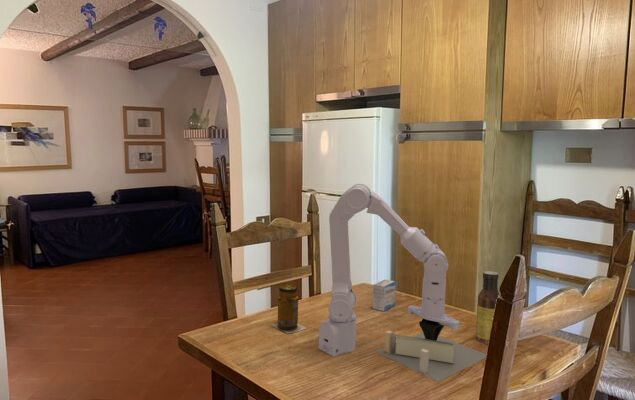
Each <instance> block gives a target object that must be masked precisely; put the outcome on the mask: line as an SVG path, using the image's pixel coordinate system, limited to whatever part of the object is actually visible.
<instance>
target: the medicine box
mask: <svg viewBox="0 0 635 400" xmlns="http://www.w3.org/2000/svg"><path fill="white" fill-rule="evenodd" d="M396 285H397V283H396V281H394V280H391V279H384V280H381V281H378V282H377V283H374V284H373V287H372V309H373V310H376V311H380V312H386V311H388V310H390V309H391V308H393V307H395V305H396V289H397V288H396V287H397V286H396Z"/></svg>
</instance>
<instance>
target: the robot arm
mask: <svg viewBox="0 0 635 400" xmlns="http://www.w3.org/2000/svg"><path fill="white" fill-rule="evenodd" d="M365 209H367V210H366V211H365V213H367V214H372V215H376V216H379V218H380V219H382V221H384V222H385V223H386V224H387V225H388V226H389V227H390V228H391V229H393V230H394V232H396V234H398V235H399V236H400V244H401V245H402V246H403V247H404V248H405V249H406V250H407V251H408V252H409V253H410V254H411V255H412V256H413V257H414V258H415V259H416V260H417V261H418V262H421V263H422V264H423V277H422V288H421V289H422V290H421V306H416V305H414V304H413V305H409V306H407V315H414V316H416V317H419V318H422V319H421V320H420V321H419V322H418V323H419V327H420V328H421V331H422V333H424V336H425V339H429V340H436V341H437V338H438V336H440V333H441V332H442V331H443V329H444V327H447V328H450V329H451V330H452V331H457V330H460V321H459V320H458V319H455V318H453V317H452V316H450V315H448V314H446V311H445V310H446V309H445V308H446V288H447V287H446V286H447V279H446V276H447V272H448V270H449V265H450V264H449V262H448V259H447V257H446V254H445V252H443V250H442V249H441V248H439V245H438V244H437V243H433V242H432V241H431V240H430V239H429V238H428V237H427V236H426V235H425V234H426V232H425V230H424V229H423V228H420V229H419V228H418V227H415V226H409V225H408V224H407V223H406V222H405V221H404V220H403V219H402V218H401V217H400V216H399V215H398V213H396V211H395V210H394V209H393V208H391V206H390V205H389V204H388V203H387V202H386V201H385V200H384V199H383V198H382V197H381V196H379V195H378V194H377V193H376V192H374V191H373V190H372V191H371V189H370V188H369V187H368V186H367V185H366V184H363V183H355V184H353V185H352V186H351V187H349V188H348V189H347V190H346V191H344V192H343V193H342V194H340V197H339V199H337V201H336V204H335V205H334V206H333V208H332V209H331V211H330V213H329V219H328V220H329V233H330V234H329V239H330V257H331V276H332V278H331V279H332V286H331V295H330V296H331V300H330V302H329V305H328V307H327V308H328V317H327V319H326V320H324V321H322V322H321V323H320V325H319V328H318V349H319V350H320V351H322V352H324V353H326V354H328V355H330V356H332V357H336V356H339V355H341V354H347V353H351V352H353V351H355V349H356V333H357V330H356V329H357V328H356V327H357V315H356V314H355V311H354V309H355V305H356V303H357V297H356V294H355V292H354V290H353V284H352V280H351V258H350V237H349V221H350V220H351V219H352V218H353V217H354V215H356V214H358V213H360V212H362V211H364V210H365Z"/></svg>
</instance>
